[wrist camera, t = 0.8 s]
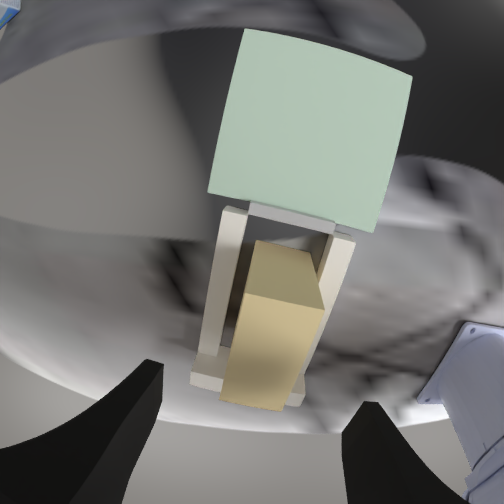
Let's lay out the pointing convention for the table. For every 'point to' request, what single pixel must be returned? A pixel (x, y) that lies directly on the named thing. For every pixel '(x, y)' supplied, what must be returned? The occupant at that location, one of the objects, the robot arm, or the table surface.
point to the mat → (309, 129)
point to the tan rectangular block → (273, 327)
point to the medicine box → (8, 10)
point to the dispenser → (222, 276)
